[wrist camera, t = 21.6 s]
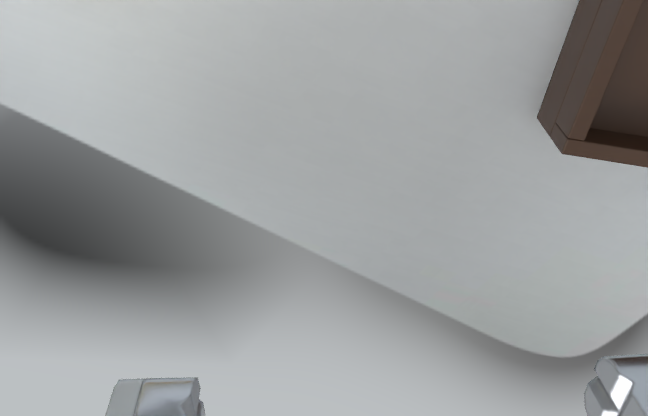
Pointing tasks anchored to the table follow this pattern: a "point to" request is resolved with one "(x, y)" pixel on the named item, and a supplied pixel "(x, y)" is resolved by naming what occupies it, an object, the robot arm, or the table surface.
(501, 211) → the table surface
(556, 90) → the tray
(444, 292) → the table surface
